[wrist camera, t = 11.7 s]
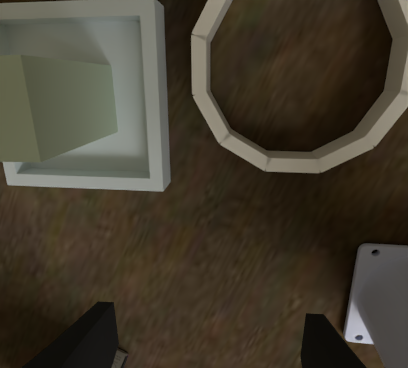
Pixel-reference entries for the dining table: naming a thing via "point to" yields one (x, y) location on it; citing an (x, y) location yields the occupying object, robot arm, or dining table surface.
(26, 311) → the dining table surface
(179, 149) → the dining table surface
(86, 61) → the tray
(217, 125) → the collar
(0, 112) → the peg
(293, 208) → the dining table surface
